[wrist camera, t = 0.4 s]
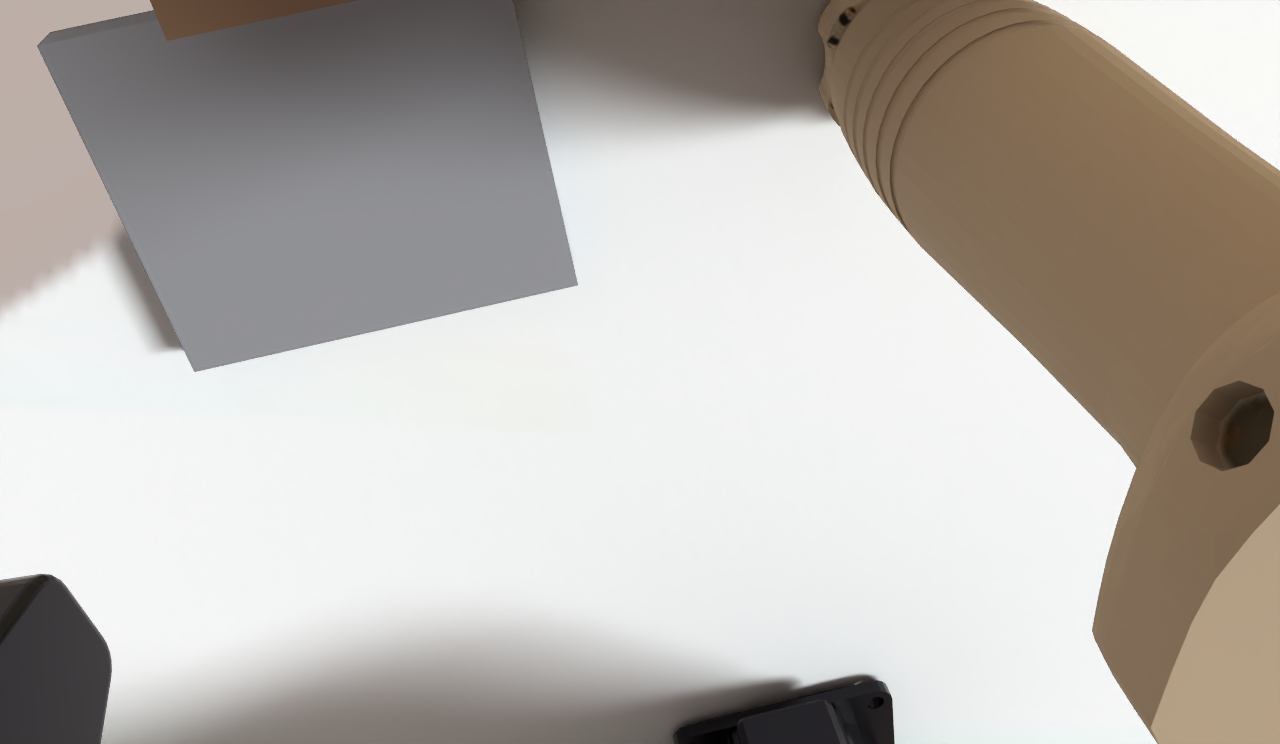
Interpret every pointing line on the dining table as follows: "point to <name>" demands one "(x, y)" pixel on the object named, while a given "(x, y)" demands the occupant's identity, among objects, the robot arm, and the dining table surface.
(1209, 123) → the handle
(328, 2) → the walnut fence
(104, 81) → the end pad
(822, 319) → the dining table surface
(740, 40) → the dining table surface
